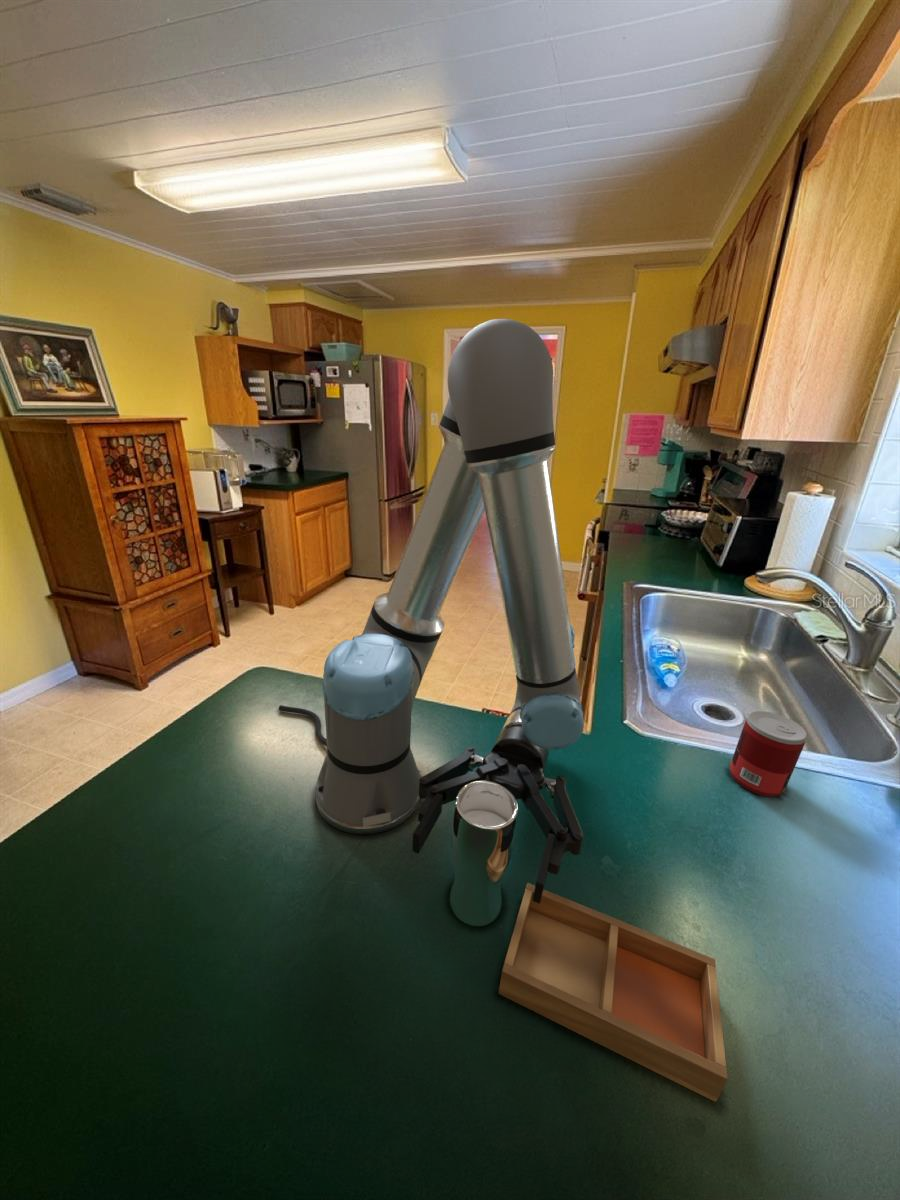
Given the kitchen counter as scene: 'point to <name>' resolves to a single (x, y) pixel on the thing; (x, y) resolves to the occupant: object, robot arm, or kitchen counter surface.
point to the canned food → (767, 753)
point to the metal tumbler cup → (481, 850)
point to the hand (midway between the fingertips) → (474, 867)
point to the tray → (619, 989)
